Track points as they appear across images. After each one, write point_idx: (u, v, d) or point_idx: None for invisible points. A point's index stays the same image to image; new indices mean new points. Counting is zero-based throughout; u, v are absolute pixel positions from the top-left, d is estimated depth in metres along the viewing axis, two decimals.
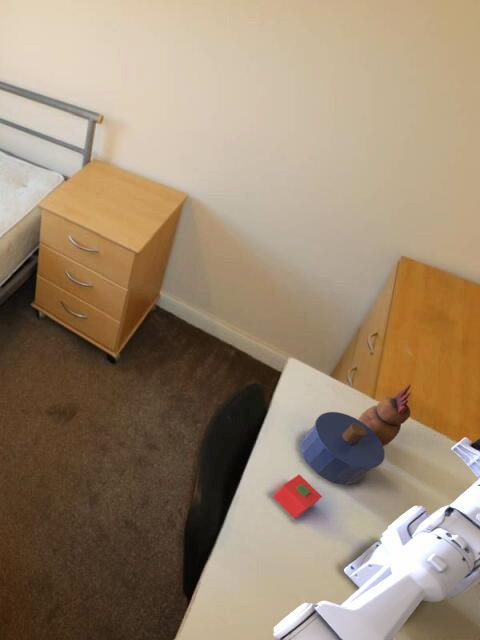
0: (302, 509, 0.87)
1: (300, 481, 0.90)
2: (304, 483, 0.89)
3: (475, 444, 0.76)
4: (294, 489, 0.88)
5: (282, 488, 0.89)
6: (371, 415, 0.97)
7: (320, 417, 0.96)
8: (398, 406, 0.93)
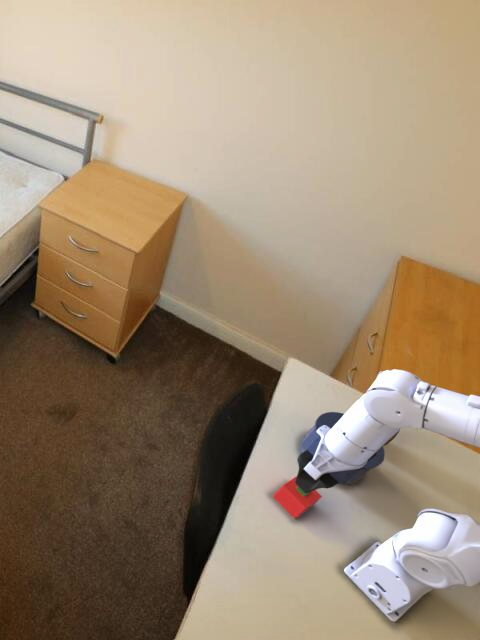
0: (302, 509, 0.87)
1: None
2: None
3: None
4: (294, 489, 0.88)
5: (282, 488, 0.89)
6: None
7: (320, 417, 0.96)
8: None
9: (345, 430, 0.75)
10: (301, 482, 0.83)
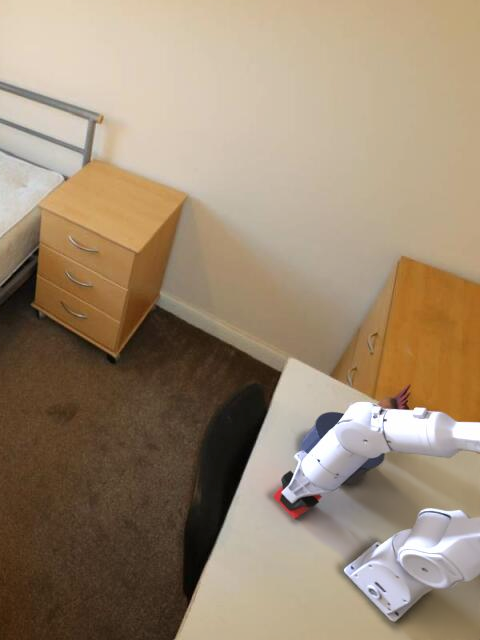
0: (302, 509, 0.87)
1: None
2: None
3: None
4: None
5: (282, 488, 0.89)
6: None
7: (320, 417, 0.96)
8: (398, 406, 0.93)
9: (319, 457, 0.80)
10: (285, 500, 0.88)
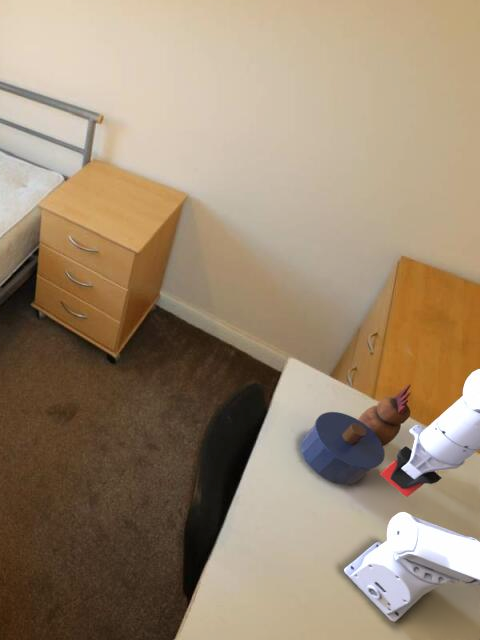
0: (417, 486, 0.82)
1: None
2: None
3: None
4: None
5: (393, 465, 0.85)
6: (371, 415, 0.97)
7: (320, 417, 0.96)
8: (398, 406, 0.93)
9: (442, 414, 0.78)
10: (398, 478, 0.84)
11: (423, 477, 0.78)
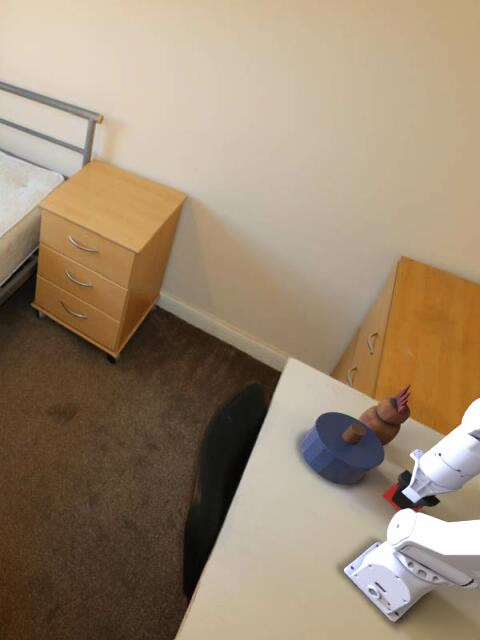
0: (417, 508, 0.85)
1: None
2: None
3: None
4: None
5: (394, 487, 0.88)
6: (371, 415, 0.97)
7: (320, 417, 0.96)
8: (398, 406, 0.93)
9: None
10: (399, 500, 0.87)
11: (423, 500, 0.82)
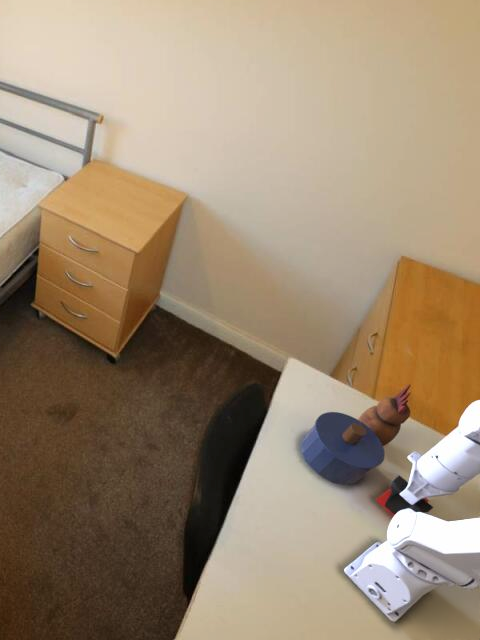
0: None
1: None
2: None
3: (404, 491, 0.83)
4: None
5: (387, 492, 0.89)
6: (371, 415, 0.97)
7: (320, 417, 0.96)
8: (398, 406, 0.93)
9: None
10: (392, 505, 0.87)
11: (415, 506, 0.82)
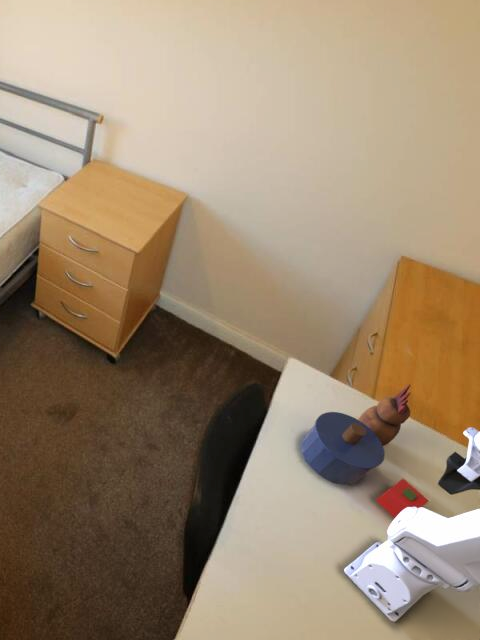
0: None
1: (405, 485, 0.90)
2: (409, 487, 0.89)
3: None
4: (401, 493, 0.89)
5: (387, 492, 0.89)
6: (371, 415, 0.97)
7: (320, 417, 0.96)
8: (398, 406, 0.93)
9: None
10: (446, 484, 0.83)
11: (474, 483, 0.78)
